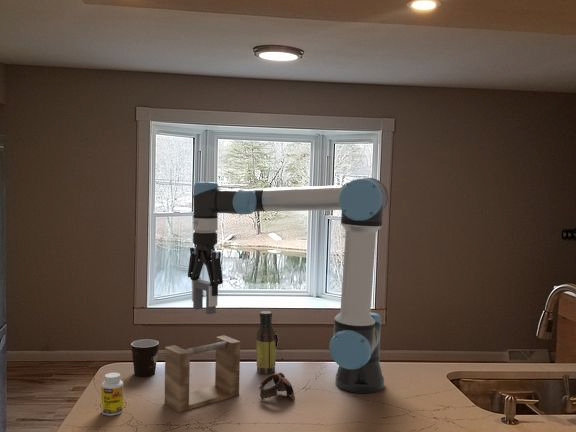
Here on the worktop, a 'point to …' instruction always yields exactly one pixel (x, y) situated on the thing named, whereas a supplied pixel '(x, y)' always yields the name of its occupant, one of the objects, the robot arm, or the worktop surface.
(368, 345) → the robot arm
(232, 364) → the rack
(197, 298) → the u piece
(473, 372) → the worktop surface
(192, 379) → the worktop surface
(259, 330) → the sauce bottle
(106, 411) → the supplement bottle
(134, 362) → the coffee mug
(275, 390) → the brown looped piece
